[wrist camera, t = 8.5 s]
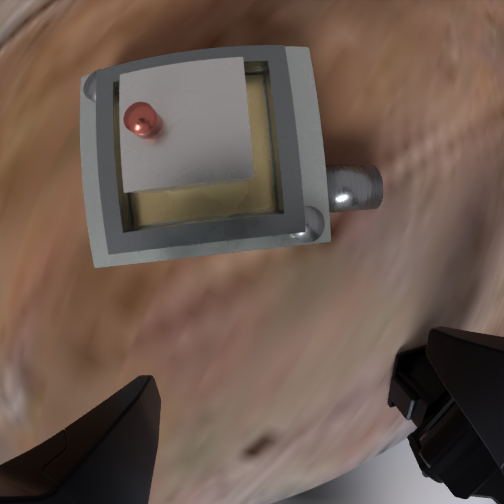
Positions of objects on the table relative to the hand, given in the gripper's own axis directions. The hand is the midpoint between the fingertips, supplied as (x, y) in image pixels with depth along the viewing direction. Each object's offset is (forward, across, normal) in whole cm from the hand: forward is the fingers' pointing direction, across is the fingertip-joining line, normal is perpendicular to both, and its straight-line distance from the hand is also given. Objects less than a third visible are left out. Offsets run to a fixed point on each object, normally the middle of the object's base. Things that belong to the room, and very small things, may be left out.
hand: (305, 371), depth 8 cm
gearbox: (+13, +1, -8) cm, 15 cm away
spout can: (+9, +3, -8) cm, 12 cm away
